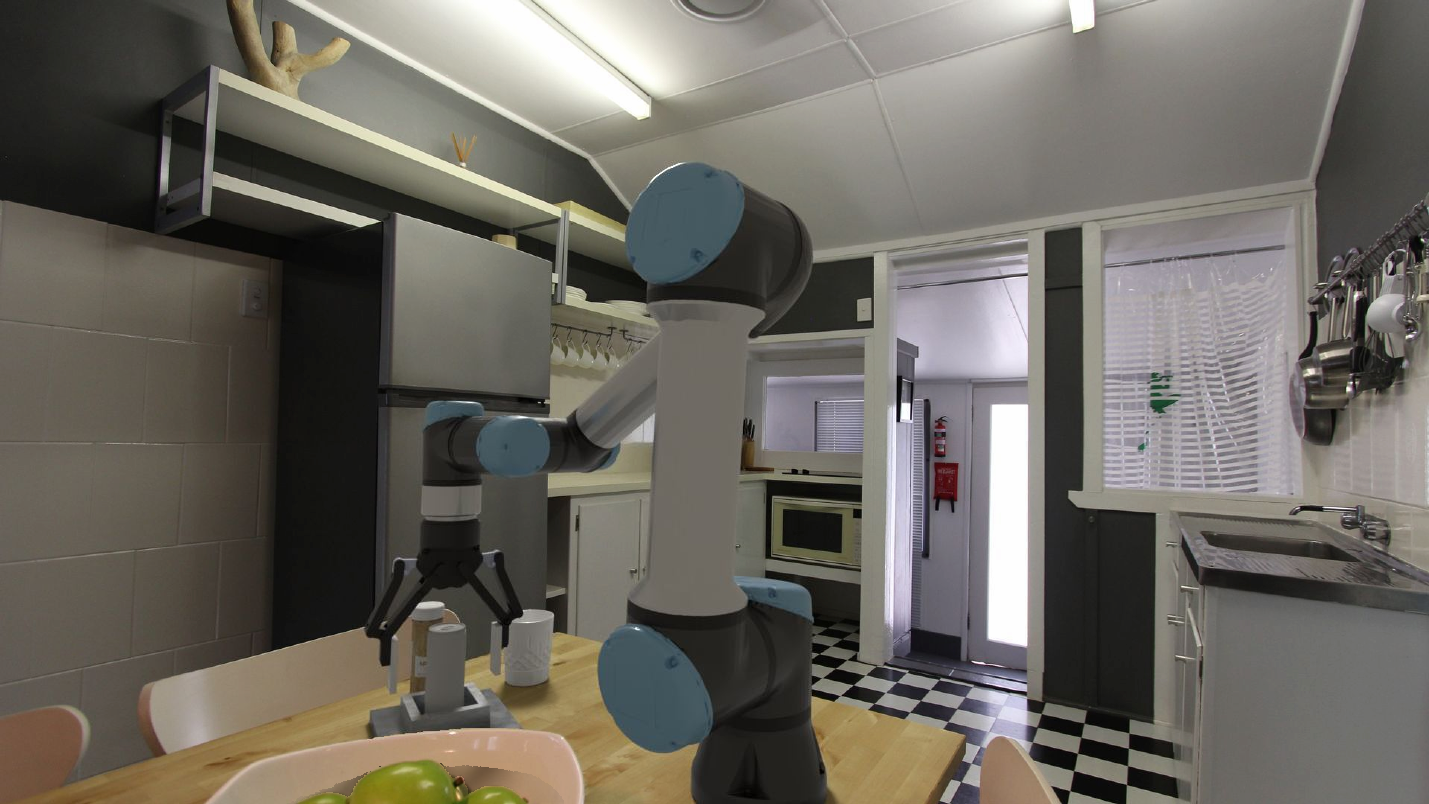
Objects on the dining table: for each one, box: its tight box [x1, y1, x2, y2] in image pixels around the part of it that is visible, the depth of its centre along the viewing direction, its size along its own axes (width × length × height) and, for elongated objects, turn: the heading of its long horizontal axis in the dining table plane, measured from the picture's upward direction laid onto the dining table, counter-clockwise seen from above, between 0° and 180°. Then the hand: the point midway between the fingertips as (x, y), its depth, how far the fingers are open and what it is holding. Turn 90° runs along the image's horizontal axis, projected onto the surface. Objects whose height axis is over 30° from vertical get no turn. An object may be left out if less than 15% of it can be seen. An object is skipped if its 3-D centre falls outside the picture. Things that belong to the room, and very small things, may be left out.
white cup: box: [503, 609, 555, 687], centre depth 107 cm, size 8×8×10 cm
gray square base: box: [369, 681, 524, 738], centre depth 88 cm, size 16×16×4 cm
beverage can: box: [424, 621, 467, 714], centre depth 88 cm, size 5×5×12 cm
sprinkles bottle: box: [408, 601, 446, 694], centre depth 100 cm, size 5×5×13 cm
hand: (445, 681), depth 88 cm, fingers open, 12 cm apart
